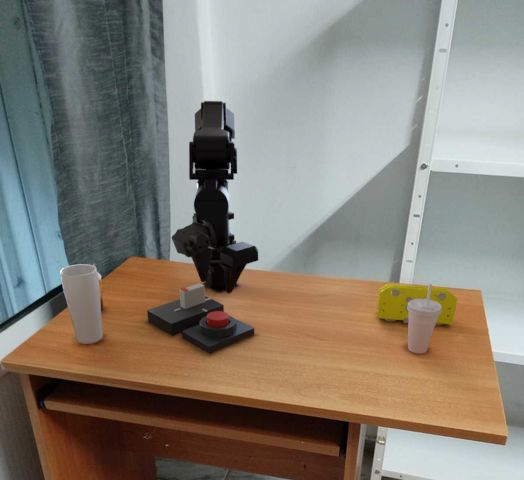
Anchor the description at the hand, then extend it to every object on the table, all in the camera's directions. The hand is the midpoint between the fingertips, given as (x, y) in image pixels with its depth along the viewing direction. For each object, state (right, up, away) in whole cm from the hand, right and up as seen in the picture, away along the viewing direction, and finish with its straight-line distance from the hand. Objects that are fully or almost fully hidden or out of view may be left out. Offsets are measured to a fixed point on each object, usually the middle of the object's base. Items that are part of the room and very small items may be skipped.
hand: (216, 287), depth 106 cm
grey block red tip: (-6, -2, +12) cm, 14 cm away
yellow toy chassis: (+43, -6, +13) cm, 45 cm away
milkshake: (-29, -3, +16) cm, 33 cm away
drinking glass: (-26, -10, +4) cm, 28 cm away
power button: (0, -7, +4) cm, 8 cm away
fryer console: (-8, -6, +12) cm, 16 cm away
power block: (0, -10, +5) cm, 11 cm away
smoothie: (+40, -12, +2) cm, 42 cm away
